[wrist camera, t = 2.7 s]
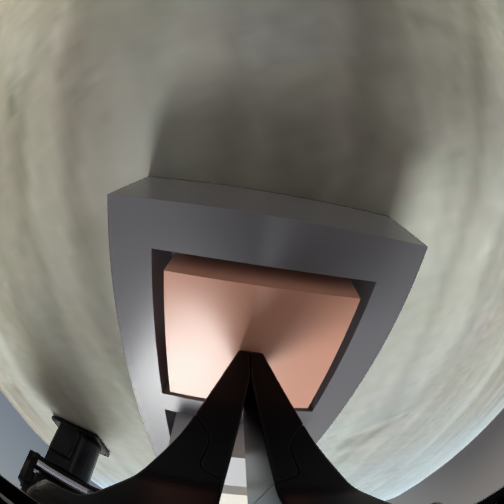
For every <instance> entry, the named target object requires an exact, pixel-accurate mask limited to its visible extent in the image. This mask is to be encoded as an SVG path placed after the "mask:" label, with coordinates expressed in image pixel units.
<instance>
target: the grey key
mask: <svg viewBox="0 0 504 504" xmlns="http://www.w3.org/2000/svg"><path fill="white" fill-rule="evenodd" d="M193 416H194V415H189V414H184V413H179V412H177V413H176V417H175V421H174V425H173V429H172V433H171V437H170V441H169V445H170V444H171V443H172V442H173V441H174V440H175V439H176V438H177V437H178V436H179V435H180V433H181V432H182V431H183V430H184V428H185V427H186V426H187V425H188V423H189V422H190V421H191V419H192V418H193ZM169 445H168V446H169ZM224 485H230V486H241V487H247V484H246V465H245V445H244V423H242V422H240V424H239V428H238V433H237V437H236V441H235V445H234V448H233V452H232V456H231V460H230V464H229V468H228V472H227V476H226V479H225V483H224Z"/></svg>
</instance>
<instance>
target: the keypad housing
mask: <svg viewBox="0 0 504 504" xmlns="http://www.w3.org/2000/svg"><path fill="white" fill-rule="evenodd" d="M108 232H109V249H110V262H111V272H112V282H113V290H114V298H115V305H116V311H117V317H118V323H119V329H120V334H121V340H122V344H123V349H124V354H125V358H126V363H127V367H128V371H129V375H130V379H131V383H132V387H133V390H134V394H135V397H136V401H137V404H138V408H139V411H140V414H141V417H142V420H143V423H144V426H145V429H146V432H147V435H148V438H149V440H150V443H151V446H152V448H153V451H154V453H155V456H156V458H157V457H158V456H159V455H160V454H161V453H162V452H163V451H164V450H165V449H166V448H167V447H168V445H169V441H170V437H171V433H172V429H173V425H174V421H175V417H176V413H177V412H179V413H184V414H189V415H195V414H196V412H197V411H198V409H199V408H200V407H201V405H202V404H203V402H204V401H205V399H206V398H200V397H195V396H190V395H184V394H180V393H175V392H170V386H169V375H168V364H167V351H166V335H165V314H164V269H165V268H166V266H167V265H168V263H169V262H170V260H171V259H172V257H173V256H174V254H175V253H176V252H177V253H183V254H190V255H196V256H202V257H209V258H215V259H221V260H228V261H234V262H241V263H247V264H254V265H261V266H267V267H274V268H281V269H287V270H294V271H301V272H308V273H315V274H322V275H329V276H336V277H343V278H350V280H351V282H352V284H353V286H354V287H355V289H356V291H357V293H358V295H359V297H360V302H359V304H358V307H357V309H356V311H355V314H354V316H353V318H352V321H351V323H350V325H349V328H348V330H347V332H346V334H345V337H344V339H343V341H342V343H341V345H340V347H339V349H338V351H337V354H336V356H335V358H334V360H333V362H332V364H331V366H330V368H329V370H328V372H327V374H326V376H325V377H324V379H323V381H322V383H321V385H320V387H319V389H318V391H317V392H316V394H315V396H314V398H313V400H312V401H311V403H310V405H309V407H308V408H294V409H295V411H296V413H297V414H298V416H299V418H300V419H301V421H302V423H303V425H304V426H305V428H306V429H307V431H308V433H309V434H310V436H311V437H312V439H313V440H314V442H315V443H317V442H318V440H319V439H320V438H321V437H322V436H323V434H324V433H325V432H326V430H327V429H328V428H329V427H330V425H331V424H332V423H333V421H334V420H335V419H336V417H337V416H338V415H339V413H340V412H341V411H342V409H343V408H344V406H345V405H346V404H347V402H348V401H349V399H350V398H351V396H352V395H353V393H354V392H355V390H356V389H357V387H358V386H359V384H360V383H361V381H362V380H363V378H364V377H365V375H366V373H367V372H368V370H369V368H370V367H371V365H372V363H373V362H374V360H375V358H376V357H377V355H378V353H379V351H380V350H381V348H382V346H383V344H384V343H385V341H386V339H387V337H388V335H389V333H390V331H391V329H392V328H393V326H394V324H395V322H396V320H397V318H398V316H399V314H400V312H401V309H402V307H403V305H404V303H405V301H406V299H407V297H408V294H409V292H410V290H411V288H412V285H413V283H414V281H415V278H416V276H417V273H418V271H419V268H420V266H421V263H422V261H423V258H424V255H425V253H426V250H427V246H426V245H425V244H424V243H422V242H421V241H420V240H419V239H417V238H416V237H415V236H414V235H412V234H411V233H410V232H409V231H407V230H406V229H405V228H403V227H402V226H401V225H399V224H398V223H397V222H395V221H394V220H393V219H391V218H390V217H388V216H384V215H380V214H375V213H371V212H367V211H363V210H358V209H354V208H349V207H345V206H340V205H335V204H330V203H326V202H321V201H316V200H310V199H305V198H300V197H294V196H289V195H283V194H278V193H272V192H266V191H259V190H253V189H247V188H240V187H233V186H226V185H219V184H211V183H203V182H195V181H187V180H178V179H168V178H158V177H146V178H143V179H141V180H138V181H136V182H134V183H132V184H129V185H127V186H125V187H123V188H120V189H118V190H116V191H114V192H112V193H110V194H108ZM240 422H242V423H243V412H242V416H241V420H240Z"/></svg>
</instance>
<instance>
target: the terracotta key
mask: <svg viewBox="0 0 504 504" xmlns="http://www.w3.org/2000/svg"><path fill="white" fill-rule="evenodd" d="M359 302H360V297H359V295H358V293H357V291H356V289H355V287H354V286H353V284H352V282H351V280H350V278H343V277H336V276H329V275H322V274H315V273H308V272H301V271H294V270H287V269H281V268H274V267H267V266H261V265H254V264H247V263H241V262H234V261H228V260H221V259H215V258H209V257H202V256H196V255H190V254H183V253H177V252H176V253H175V254H174V256H173V257H172V259H171V260H170V262H169V263H168V265H167V266H166V268H165V269H164V314H165V335H166V351H167V364H168V375H169V386H170V392H175V393H180V394H184V395H190V396H195V397H200V398H207V397H208V395H209V394H210V392H211V391H212V389H213V388H214V386H215V385H216V383H217V382H218V380H219V379H220V378H221V376H222V375H223V373H224V372H225V370H226V369H227V367H228V366H229V364H230V363H231V361H232V360H233V358H234V356H235V355H236V353H237V352H238V351H239V350H244V351H249V352H250V353H251V352H260V353H263V355H264V356H265V358H266V360H267V362H268V364H269V365H270V367H271V369H272V371H273V372H274V374H275V376H276V378H277V380H278V381H279V383H280V385H281V387H282V388H283V390H284V392H285V394H286V395H287V397H288V399H289V401H290V402H291V404H292V406H293V407H294V408H308V407H309V405H310V403H311V401H312V400H313V398H314V396H315V394H316V392H317V391H318V389H319V387H320V385H321V383H322V381H323V379H324V377H325V376H326V374H327V372H328V370H329V368H330V366H331V364H332V362H333V360H334V358H335V356H336V354H337V351H338V349H339V347H340V345H341V343H342V341H343V339H344V337H345V334H346V332H347V330H348V328H349V325H350V323H351V321H352V318H353V316H354V314H355V311H356V309H357V307H358V304H359Z"/></svg>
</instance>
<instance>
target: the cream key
mask: <svg viewBox="0 0 504 504" xmlns="http://www.w3.org/2000/svg"><path fill="white" fill-rule="evenodd" d="M219 504H248V501H247V487H241V486H230V485H224V487H223V491H222V494H221V498H220V502H219Z"/></svg>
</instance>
